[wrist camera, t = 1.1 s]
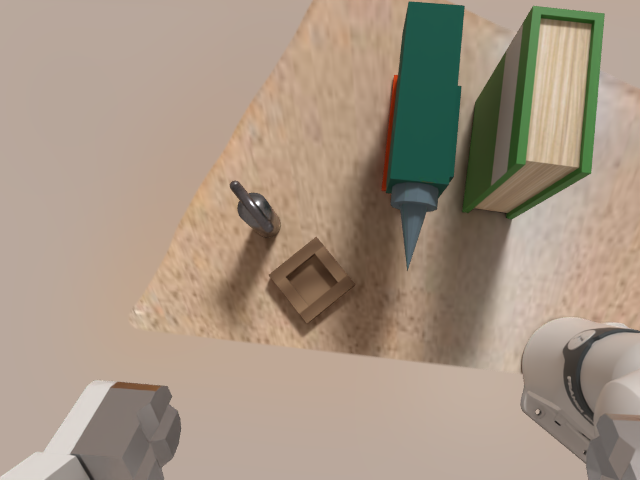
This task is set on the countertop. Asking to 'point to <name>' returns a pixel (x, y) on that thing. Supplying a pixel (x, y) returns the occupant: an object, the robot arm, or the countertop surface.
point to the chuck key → (256, 211)
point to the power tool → (424, 114)
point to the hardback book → (536, 113)
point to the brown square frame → (311, 280)
